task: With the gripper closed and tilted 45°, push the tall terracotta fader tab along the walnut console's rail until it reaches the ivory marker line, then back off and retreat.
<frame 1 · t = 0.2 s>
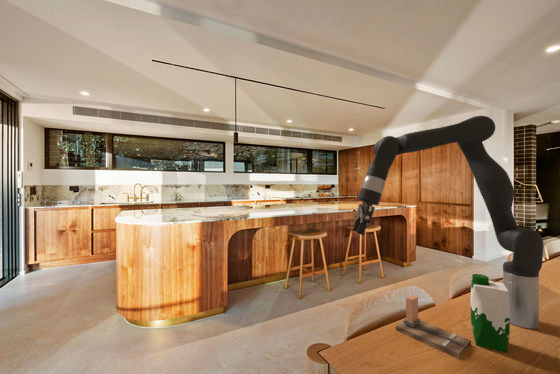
hand: (357, 232, 93), 31 cm above the table, tool tilted 20°, fingers open, 8 cm apart
console: (431, 337, 81), on the table
fader: (412, 310, 85), point 6 cm above the table, slide at 0.0 cm
milk carton: (489, 344, 77), on the table
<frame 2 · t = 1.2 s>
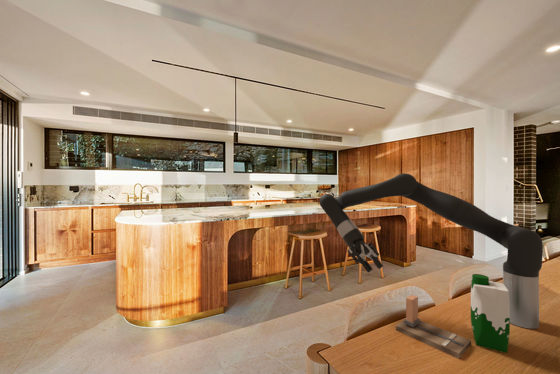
hand: (375, 269, 96), 17 cm above the table, tool tilted 45°, fingers open, 6 cm apart
nothing on the table moved.
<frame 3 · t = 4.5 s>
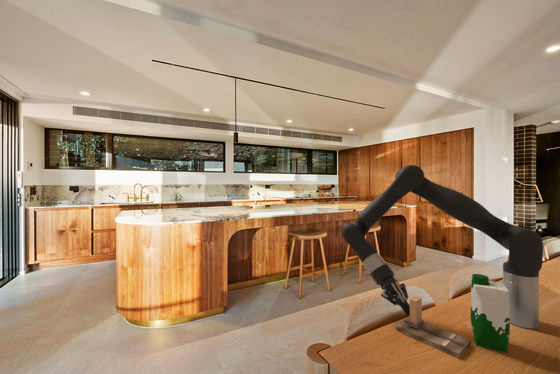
hand: (411, 314, 86), 5 cm above the table, tool tilted 45°, fingers closed
fader: (415, 311, 84), point 6 cm above the table, slide at 1.2 cm, touching gripper
everything else where it was.
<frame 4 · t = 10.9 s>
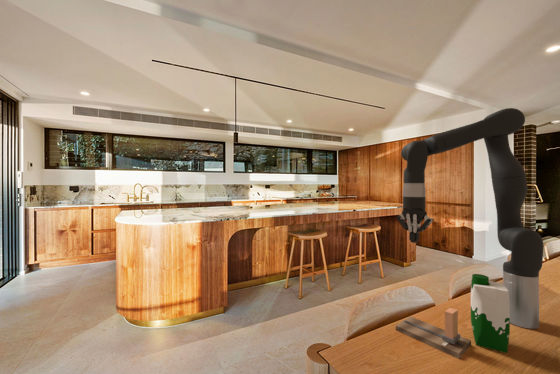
hand: (413, 242, 95), 27 cm above the table, tool pointing down, fingers closed
fader: (451, 324, 76), point 6 cm above the table, slide at 11.5 cm
everything else where it was.
at the end: fader slide at 11.5 cm; milk carton moved 0.2 cm from its start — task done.
